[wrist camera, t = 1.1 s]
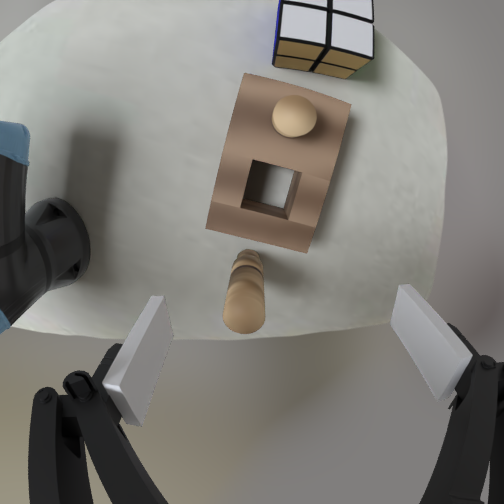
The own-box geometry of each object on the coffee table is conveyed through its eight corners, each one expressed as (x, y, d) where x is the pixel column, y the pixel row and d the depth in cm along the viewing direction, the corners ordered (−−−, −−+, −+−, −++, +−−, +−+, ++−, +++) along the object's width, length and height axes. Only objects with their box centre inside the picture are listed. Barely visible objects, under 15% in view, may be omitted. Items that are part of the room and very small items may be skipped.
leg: (237, 275, 40) (228, 336, 26) (231, 249, 38) (217, 303, 25) (265, 270, 39) (268, 330, 26) (259, 244, 38) (260, 296, 25)
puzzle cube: (277, 8, 26) (283, -29, 16) (348, 22, 26) (373, -9, 16) (271, 67, 29) (276, 38, 20) (346, 80, 29) (375, 60, 20)
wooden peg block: (299, 237, 37) (313, 267, 28) (213, 215, 36) (198, 239, 27) (336, 110, 31) (364, 98, 22) (246, 85, 30) (242, 61, 21)
